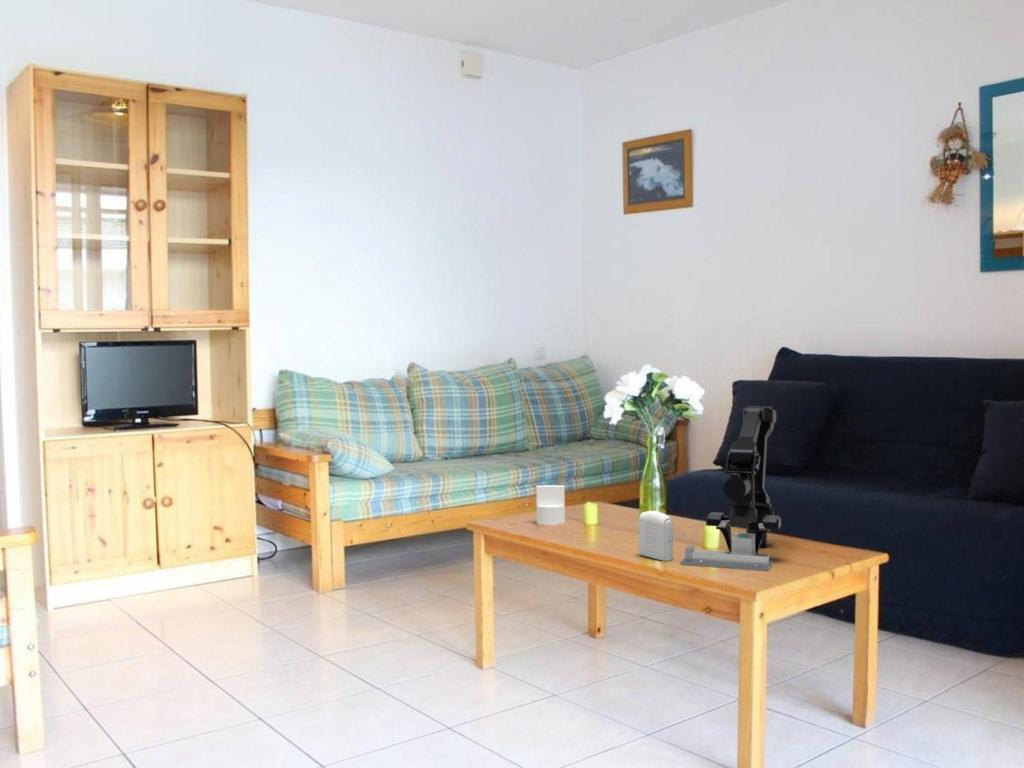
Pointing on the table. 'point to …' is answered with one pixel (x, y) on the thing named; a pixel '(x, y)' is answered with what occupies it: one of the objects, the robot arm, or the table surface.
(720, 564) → the rail panel
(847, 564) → the table surface
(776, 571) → the table surface
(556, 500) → the cylinder with rectangular tab
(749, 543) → the module
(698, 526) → the table surface
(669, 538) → the photo printer
